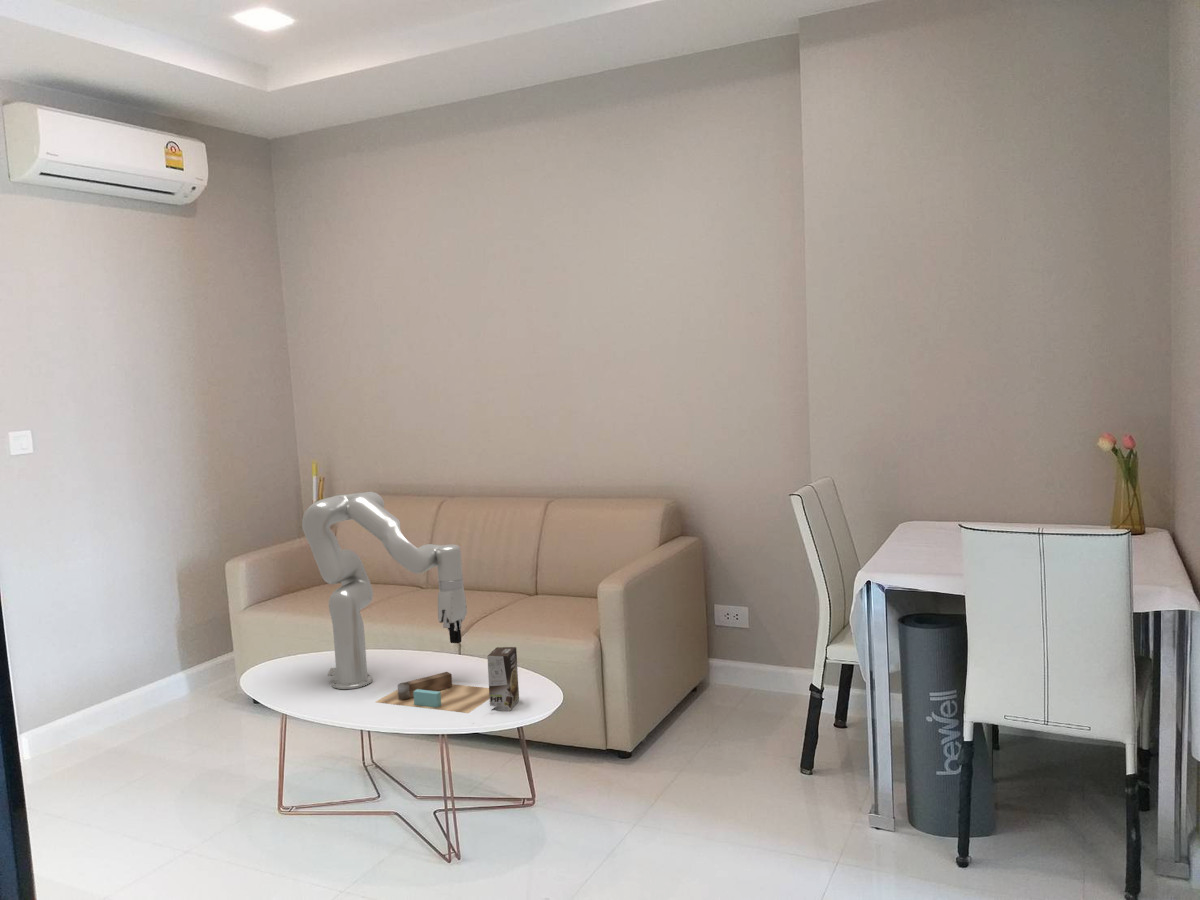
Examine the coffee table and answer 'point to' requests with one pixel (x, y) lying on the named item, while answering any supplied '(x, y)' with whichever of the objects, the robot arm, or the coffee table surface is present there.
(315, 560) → the robot arm
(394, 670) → the coffee table surface
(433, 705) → the stop block
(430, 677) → the folding leg
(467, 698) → the stool top
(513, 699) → the coffee box
